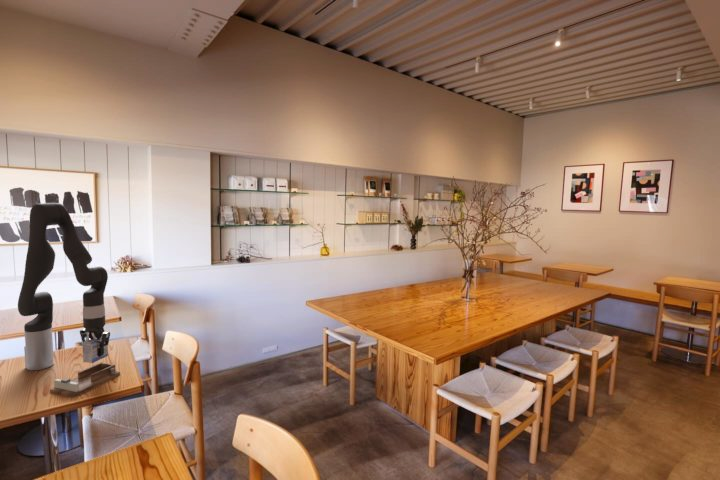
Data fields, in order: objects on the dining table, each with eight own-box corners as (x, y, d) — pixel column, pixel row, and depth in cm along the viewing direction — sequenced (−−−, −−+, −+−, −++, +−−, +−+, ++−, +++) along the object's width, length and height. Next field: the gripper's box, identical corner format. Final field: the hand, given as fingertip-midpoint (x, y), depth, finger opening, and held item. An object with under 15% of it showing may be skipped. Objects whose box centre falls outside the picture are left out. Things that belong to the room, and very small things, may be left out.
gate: (53, 388, 146) (52, 378, 145) (57, 386, 147) (57, 376, 147) (74, 392, 143) (74, 382, 142) (79, 390, 145) (78, 380, 144)
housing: (50, 392, 145) (49, 381, 145) (98, 370, 164) (97, 361, 164) (73, 397, 142) (73, 386, 142) (119, 374, 161) (119, 365, 161)
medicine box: (91, 363, 152) (90, 342, 151) (82, 362, 153) (81, 341, 152) (108, 356, 160) (107, 336, 159) (99, 354, 161) (99, 335, 160)
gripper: (71, 315, 153) (73, 356, 155) (99, 319, 149) (100, 360, 151) (89, 311, 160) (91, 349, 162) (115, 314, 156) (117, 353, 158)
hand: (95, 354), depth 156 cm, fingers closed on medicine box, 4 cm apart
